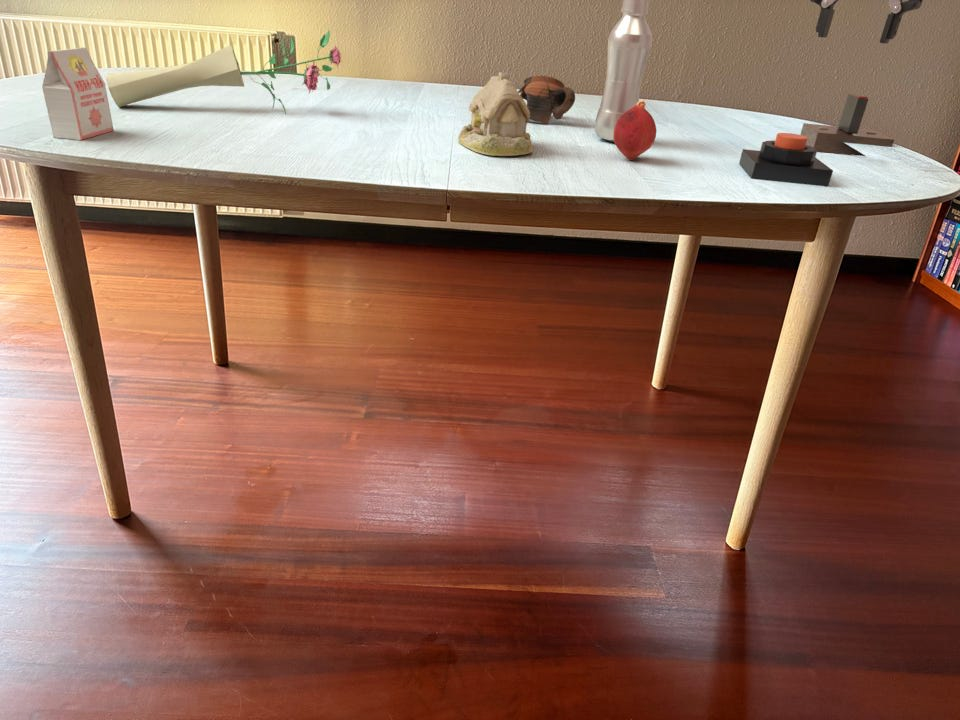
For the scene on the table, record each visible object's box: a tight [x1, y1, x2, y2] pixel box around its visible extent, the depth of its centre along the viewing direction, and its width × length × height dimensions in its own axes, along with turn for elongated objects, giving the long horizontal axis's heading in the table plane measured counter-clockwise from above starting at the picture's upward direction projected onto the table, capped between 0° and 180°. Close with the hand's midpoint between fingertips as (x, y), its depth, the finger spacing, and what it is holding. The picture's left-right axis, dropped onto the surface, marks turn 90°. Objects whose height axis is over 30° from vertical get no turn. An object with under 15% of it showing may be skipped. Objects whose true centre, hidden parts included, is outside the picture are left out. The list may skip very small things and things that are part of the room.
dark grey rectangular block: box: [837, 93, 869, 134], centre depth 114 cm, size 5×2×6 cm, turn 172°
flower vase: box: [105, 29, 342, 115], centre depth 108 cm, size 12×12×35 cm
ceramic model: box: [457, 71, 534, 157], centre depth 97 cm, size 14×11×10 cm
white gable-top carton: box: [41, 47, 114, 141], centre depth 86 cm, size 4×7×10 cm, turn 172°
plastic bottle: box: [594, 0, 654, 143], centre depth 104 cm, size 6×7×20 cm
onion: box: [613, 100, 657, 161], centre depth 95 cm, size 6×6×8 cm
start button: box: [774, 132, 808, 150], centre depth 93 cm, size 4×4×2 cm
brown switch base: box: [799, 122, 895, 157], centre depth 116 cm, size 12×9×3 cm
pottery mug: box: [517, 75, 576, 125], centre depth 120 cm, size 12×10×8 cm
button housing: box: [738, 140, 834, 188], centre depth 94 cm, size 10×9×4 cm
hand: (852, 40), depth 99 cm, fingers open, 8 cm apart
